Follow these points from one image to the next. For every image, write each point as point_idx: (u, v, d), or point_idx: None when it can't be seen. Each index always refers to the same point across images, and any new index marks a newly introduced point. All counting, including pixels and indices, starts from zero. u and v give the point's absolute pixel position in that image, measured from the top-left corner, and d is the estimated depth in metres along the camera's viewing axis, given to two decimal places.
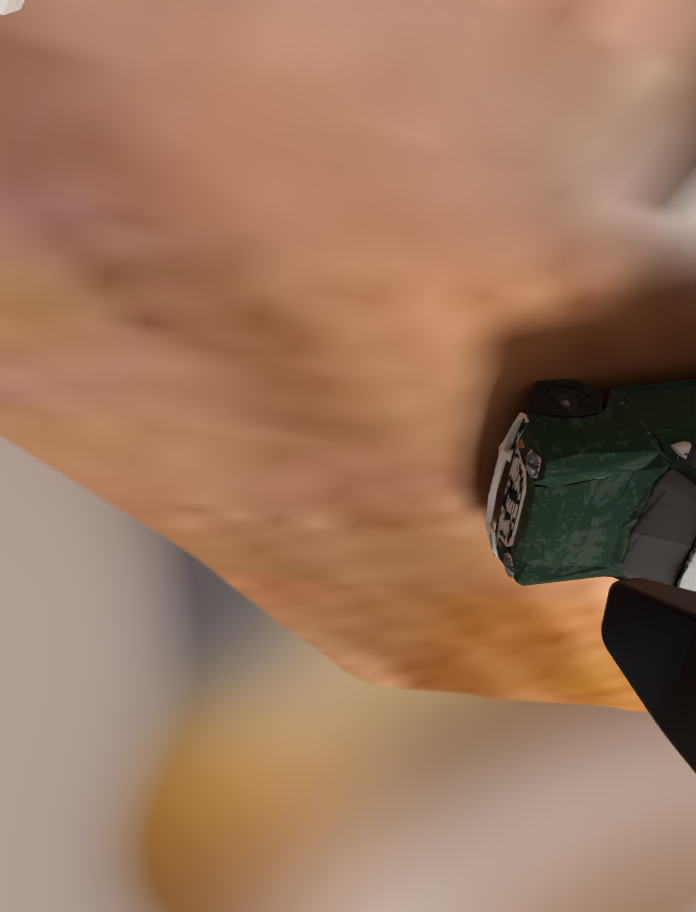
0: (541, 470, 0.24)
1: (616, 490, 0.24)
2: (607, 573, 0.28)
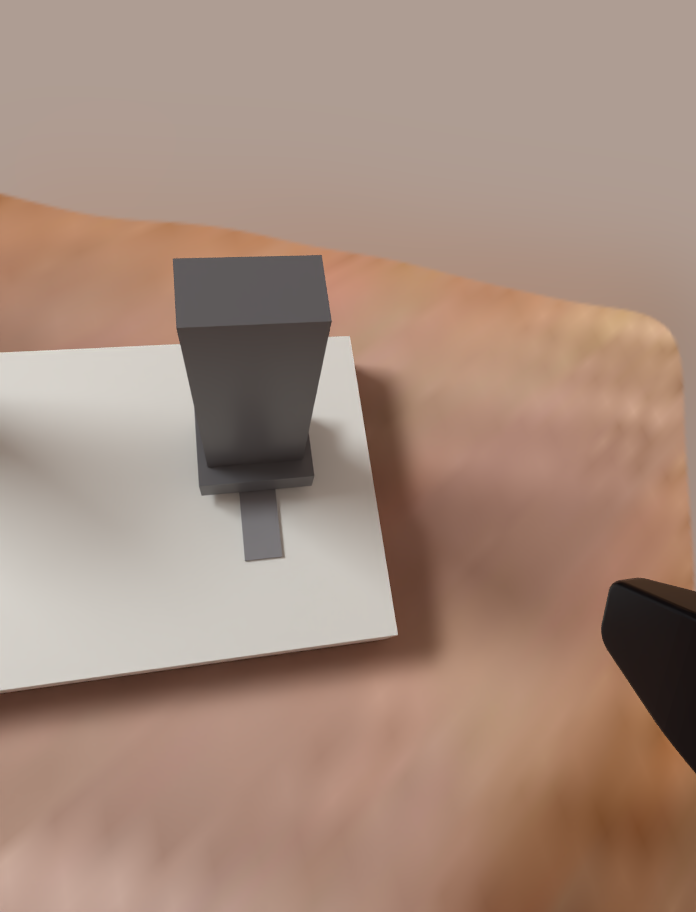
0: None
1: None
2: None
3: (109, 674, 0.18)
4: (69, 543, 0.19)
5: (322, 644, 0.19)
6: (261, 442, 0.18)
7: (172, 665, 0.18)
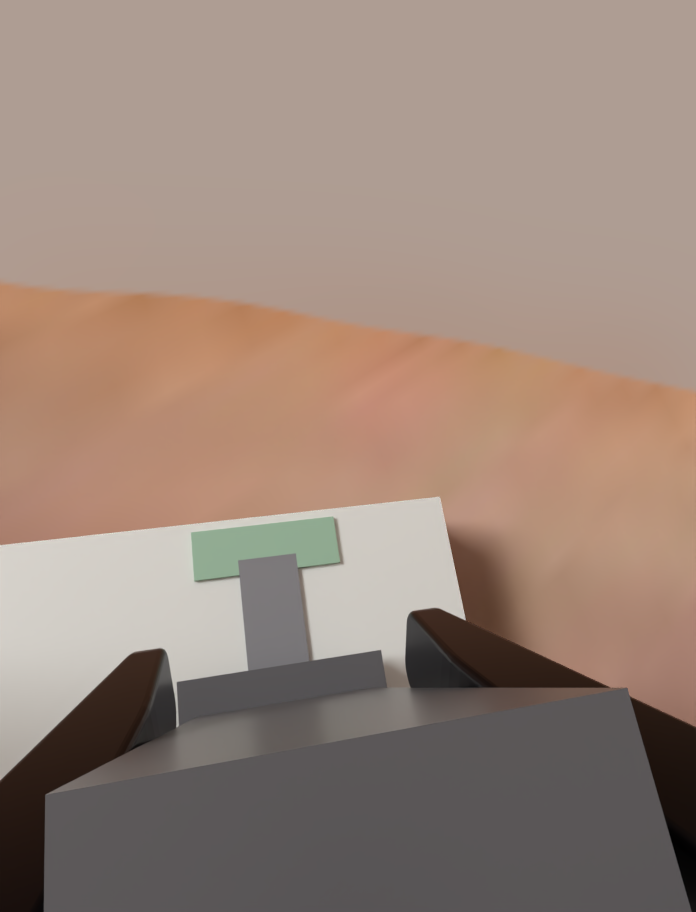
0: None
1: None
2: None
3: None
4: None
5: None
6: None
7: None
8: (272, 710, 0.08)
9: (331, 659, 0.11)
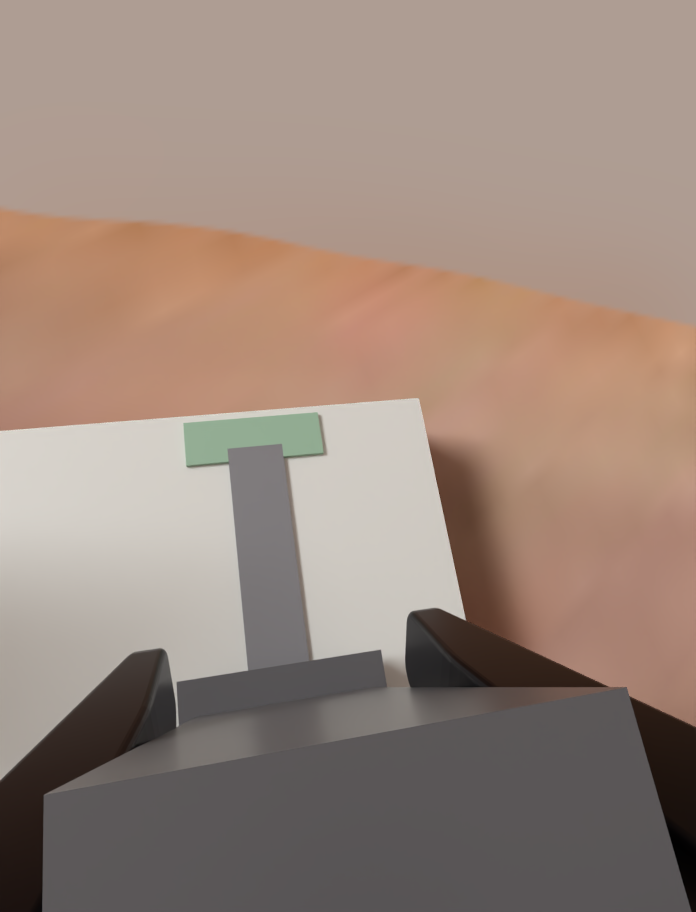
0: None
1: None
2: None
3: None
4: None
5: None
6: None
7: None
8: (272, 710, 0.08)
9: (331, 659, 0.11)
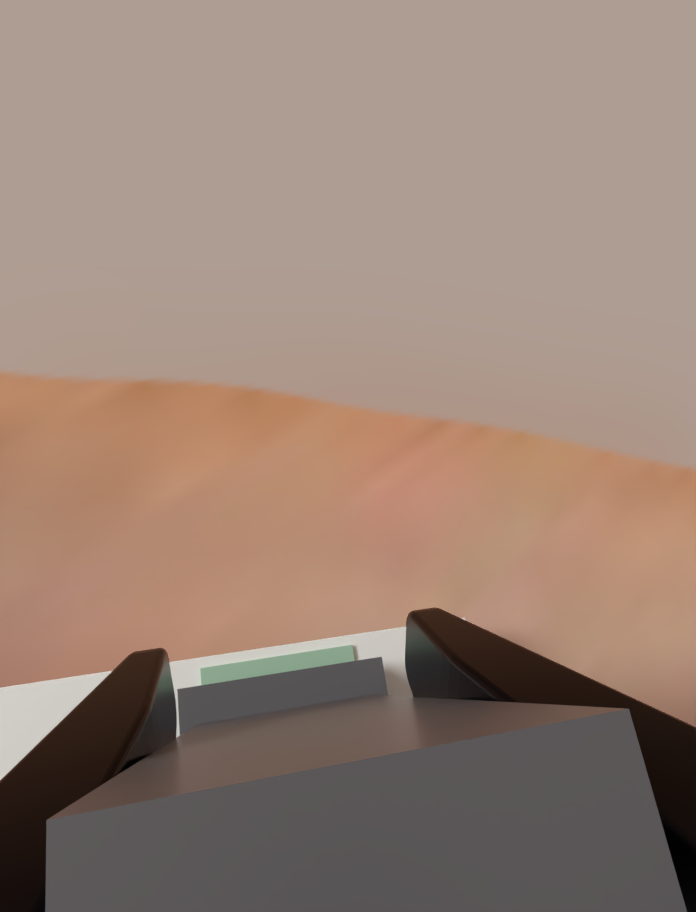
0: None
1: None
2: None
3: None
4: None
5: None
6: None
7: None
8: (273, 719, 0.08)
9: (332, 666, 0.11)
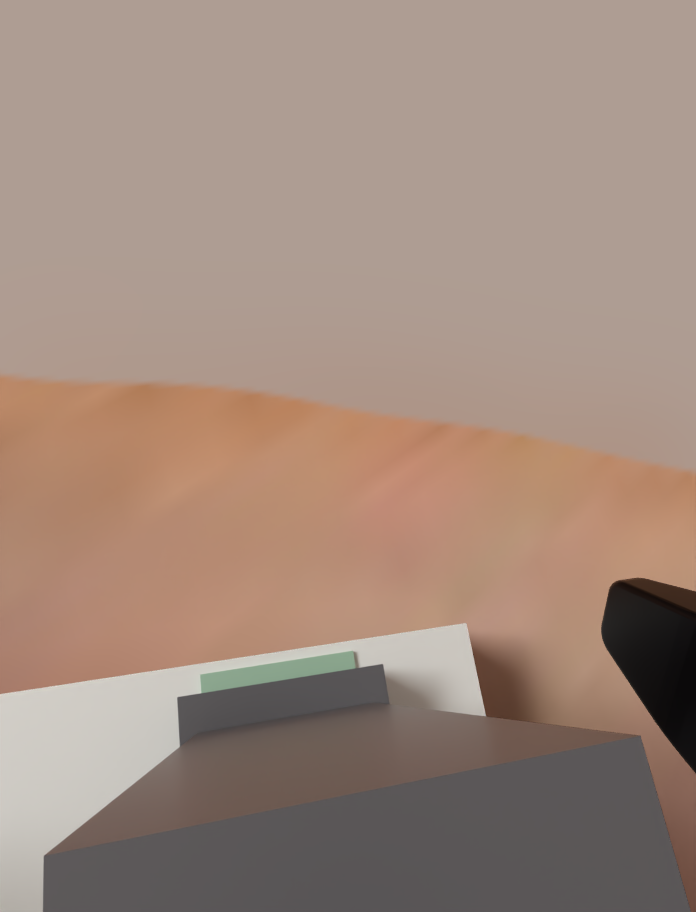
0: None
1: None
2: None
3: None
4: None
5: None
6: None
7: None
8: (274, 730, 0.08)
9: (333, 673, 0.11)
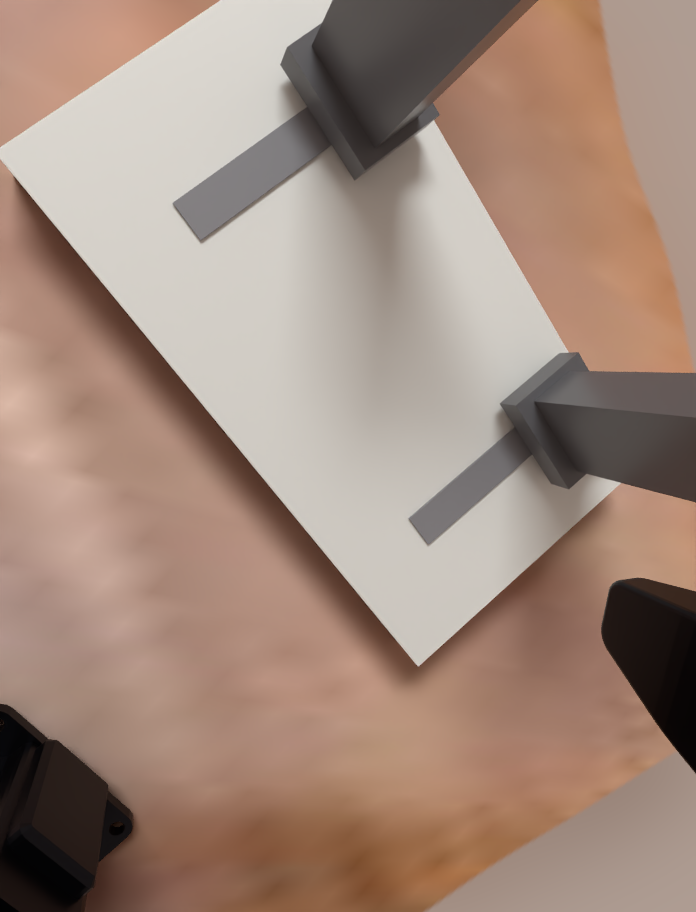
0: None
1: None
2: None
3: (264, 478, 0.19)
4: (343, 369, 0.19)
5: (379, 618, 0.21)
6: (594, 447, 0.18)
7: (299, 521, 0.19)
8: None
9: None
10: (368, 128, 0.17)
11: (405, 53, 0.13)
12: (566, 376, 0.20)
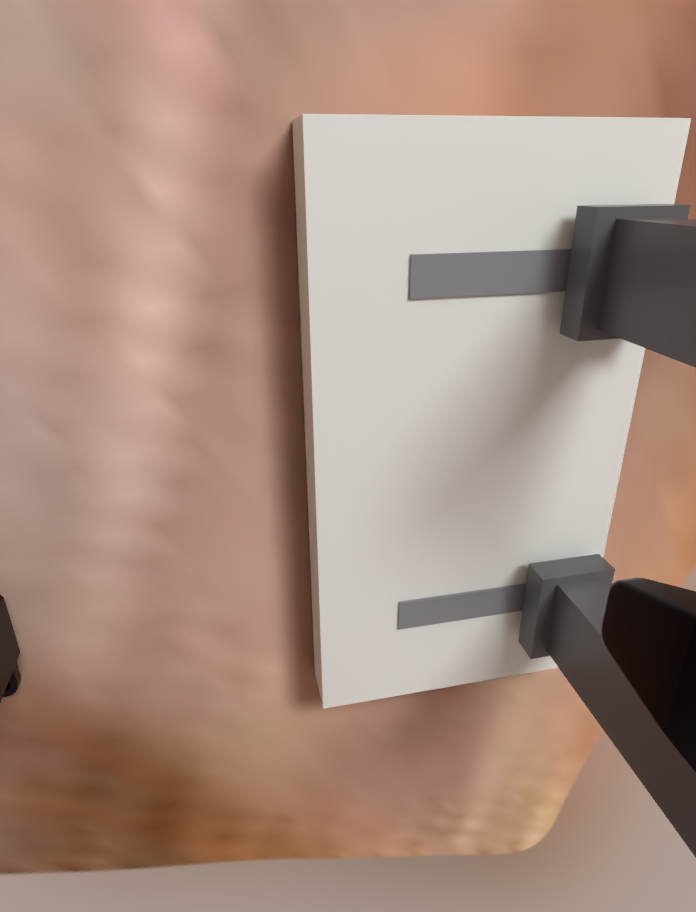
0: None
1: None
2: None
3: (316, 508, 0.20)
4: (437, 465, 0.20)
5: (321, 659, 0.22)
6: (577, 655, 0.20)
7: (318, 555, 0.20)
8: None
9: None
10: (606, 314, 0.17)
11: (694, 323, 0.14)
12: (593, 582, 0.21)
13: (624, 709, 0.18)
